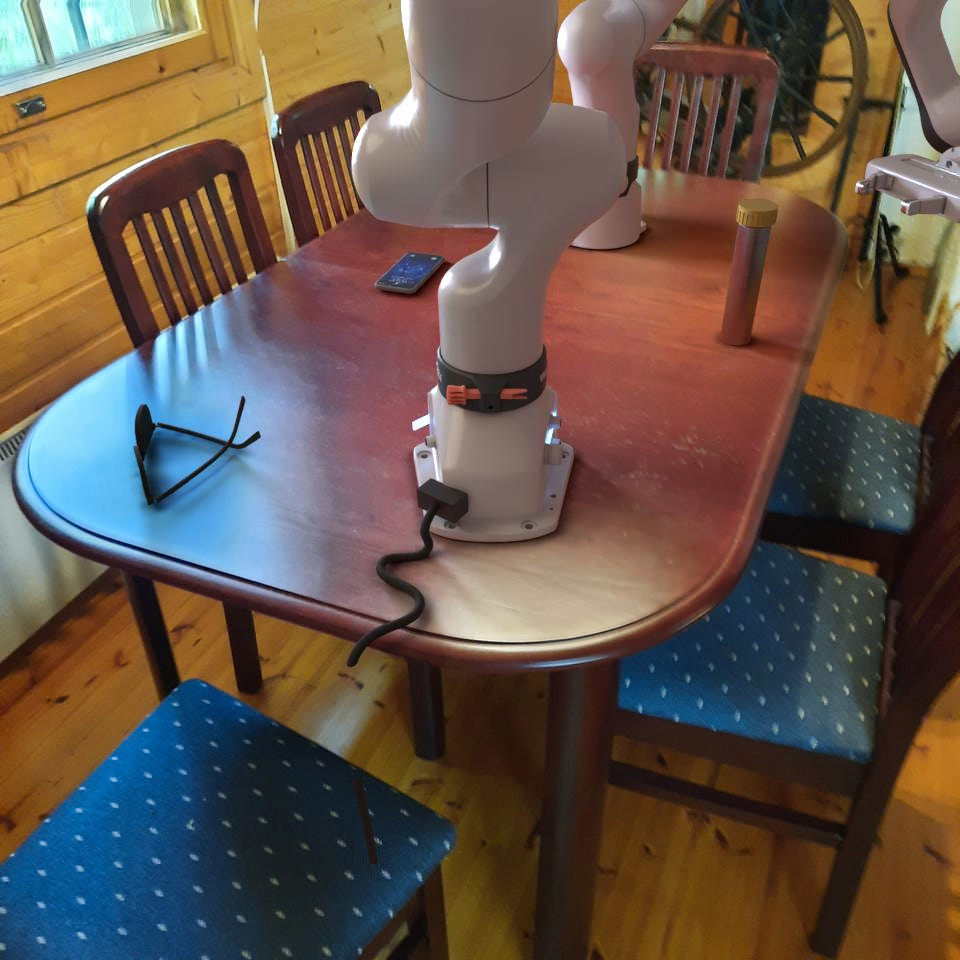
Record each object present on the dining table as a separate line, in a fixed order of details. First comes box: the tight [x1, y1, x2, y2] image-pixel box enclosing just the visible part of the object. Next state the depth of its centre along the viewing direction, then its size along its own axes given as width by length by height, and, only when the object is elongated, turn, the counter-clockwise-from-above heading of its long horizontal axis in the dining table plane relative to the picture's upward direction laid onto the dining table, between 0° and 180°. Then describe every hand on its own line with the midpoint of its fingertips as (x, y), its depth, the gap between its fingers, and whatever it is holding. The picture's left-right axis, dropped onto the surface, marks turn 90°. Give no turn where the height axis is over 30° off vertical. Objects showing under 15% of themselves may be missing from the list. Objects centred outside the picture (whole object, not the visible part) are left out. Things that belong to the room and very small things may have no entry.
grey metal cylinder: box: [719, 223, 772, 347], centre depth 117 cm, size 4×4×19 cm
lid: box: [735, 198, 779, 228], centre depth 112 cm, size 5×5×2 cm
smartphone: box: [373, 251, 446, 295], centre depth 143 cm, size 7×1×15 cm
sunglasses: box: [132, 395, 262, 506], centre depth 100 cm, size 17×14×5 cm
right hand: (881, 198), depth 118 cm, fingers open, 8 cm apart
